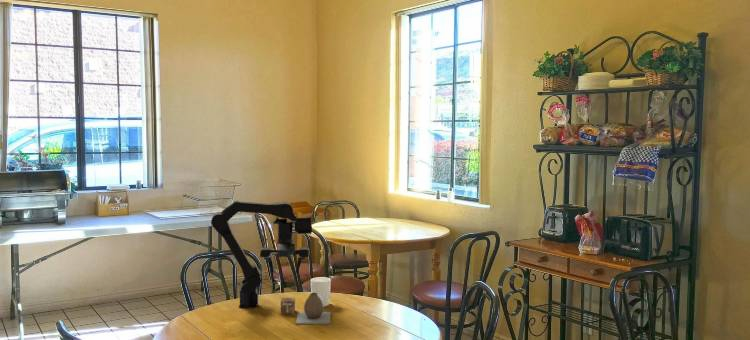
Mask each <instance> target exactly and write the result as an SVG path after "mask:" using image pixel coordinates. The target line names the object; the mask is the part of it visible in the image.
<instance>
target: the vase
mask: <svg viewBox="0 0 750 340" xmlns="http://www.w3.org/2000/svg"><path fill="white" fill-rule="evenodd" d="M303 310H304V311H303V312H305V314H306V316H307V317H308V318H310V319H316V318H319V317H320V316H321V314H322V312H324V307H323V303H322V301H321V299H320V298H319V297H318V295H317V293H311V292H310V294H309V295H308V297H307V298H306V300H305V302H304V305H303Z"/></svg>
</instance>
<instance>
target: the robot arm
mask: <svg viewBox="0 0 750 340" xmlns="http://www.w3.org/2000/svg"><path fill="white" fill-rule="evenodd" d="M239 212H240V213H255V214H265V215H266V214H267V215H271V216H274V217H276V218H275V219H274V220H272V224H274V225H276V224H277V245H276V249H273V247H270V246H269V247H266V246H265V247H264V246H263V247H262V248H261V249H260V258H263V260H266V261H267V262H268V264H269V267H270V271H271V272H272V275H274V274H275V265H274V264H275V263H274V255H277V257H278V258H289V257H291V255H298V256H297V264H296V275H298V273H299V271H300V267H301V264H302V262H303V260H306V258H309V257H310V247H304V246H303V247H298V249H296V244H295V243H293V239H294V238H293V233H294V232H295V233H296V235H312V232H313V226H312V218H311V217H312V216H304V217H303V216H301V217H300V216H297V215H296V214H295V213H294V209H293V206H292V204H290V203H289V202H288V201H281V202H280V201H279V202H272V203H271V202H270V203H264V202H253V201H251V202H250V201H240V200H234V201H233V202H232V203H231V204H230V205H228V206H227V207H226V208H224V209H223V210H221V211H219V212H215V213H214V214H213V216H212V218H211V221H210V223H211V226H212V227H213V228H214V230H215V231H216V233H218V234H219V236H221V237H222V238H223V240H224V241H225V243H226V244H227V246H228V248H229V250H230V251H231V253H232V255H233V257H234V258H235V260H236V262H237V264H238V265H239V267H240V268H241V272H242V274H243V277H244V278H243V280H242V281H241V282H240V290H239V306H238V308H240V309H241V308H256V307H257V306H258V305H259V299H260V298H259V292H258V287H259V286H260V285H261V283H262V270H260V268H259V267H258V265H257V263H254V264H252V262H251V261H250V260H249V259H248V257H247V254H246V253H245V252H244V249H243V248H242V246H241V245H240V243H239V240H238V239H237V237H236V236H235V234H234V233H233V231H232V227H231V224H230V221H229V220H231V219H232V218H233V217H234V216H235V215H236V214H237V213H239Z"/></svg>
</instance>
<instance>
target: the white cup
mask: <svg viewBox="0 0 750 340" xmlns="http://www.w3.org/2000/svg"><path fill="white" fill-rule="evenodd" d="M331 284H332V278H329V277H323V276H318V277H313V278H311V279H310V294H311V293H317V295H318V297H319V298H320V299H321V301H322V303H323V308H324V307H327V306H329V305H330V297H331Z"/></svg>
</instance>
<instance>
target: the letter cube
mask: <svg viewBox="0 0 750 340" xmlns="http://www.w3.org/2000/svg"><path fill="white" fill-rule="evenodd" d="M295 312H296V297H281V300H280V315H295Z"/></svg>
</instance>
